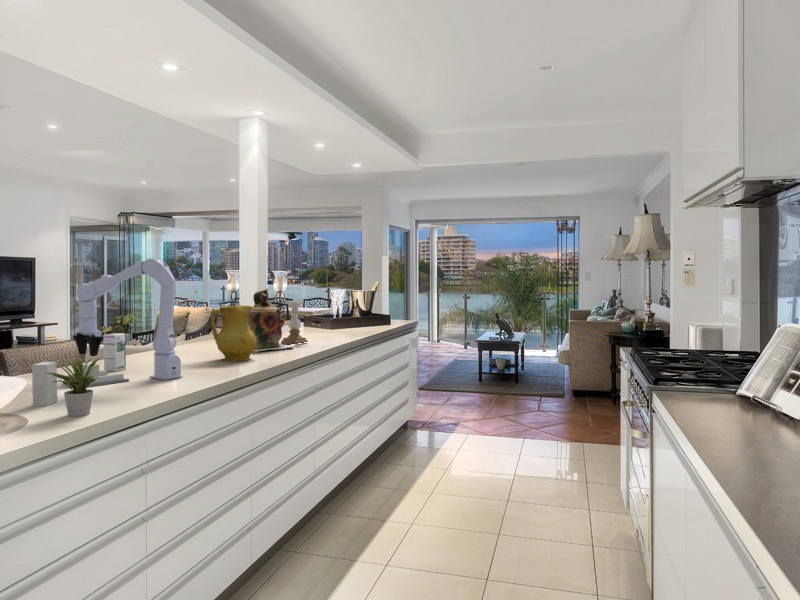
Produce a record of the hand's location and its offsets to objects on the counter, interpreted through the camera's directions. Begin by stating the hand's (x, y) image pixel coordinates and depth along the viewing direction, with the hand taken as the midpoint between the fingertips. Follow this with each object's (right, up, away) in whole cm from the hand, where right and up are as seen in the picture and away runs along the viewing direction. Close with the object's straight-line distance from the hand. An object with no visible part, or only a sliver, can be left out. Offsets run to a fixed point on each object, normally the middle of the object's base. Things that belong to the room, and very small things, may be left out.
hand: (88, 355), depth 221 cm
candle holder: (+54, -5, +122) cm, 133 cm away
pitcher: (+39, -7, +55) cm, 68 cm away
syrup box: (+1, -8, +19) cm, 21 cm away
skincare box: (+10, -10, -44) cm, 47 cm away
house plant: (+27, -11, -56) cm, 63 cm away
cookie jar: (+42, -6, +97) cm, 106 cm away
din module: (+6, -8, -10) cm, 14 cm away
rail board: (+7, -9, -8) cm, 14 cm away
